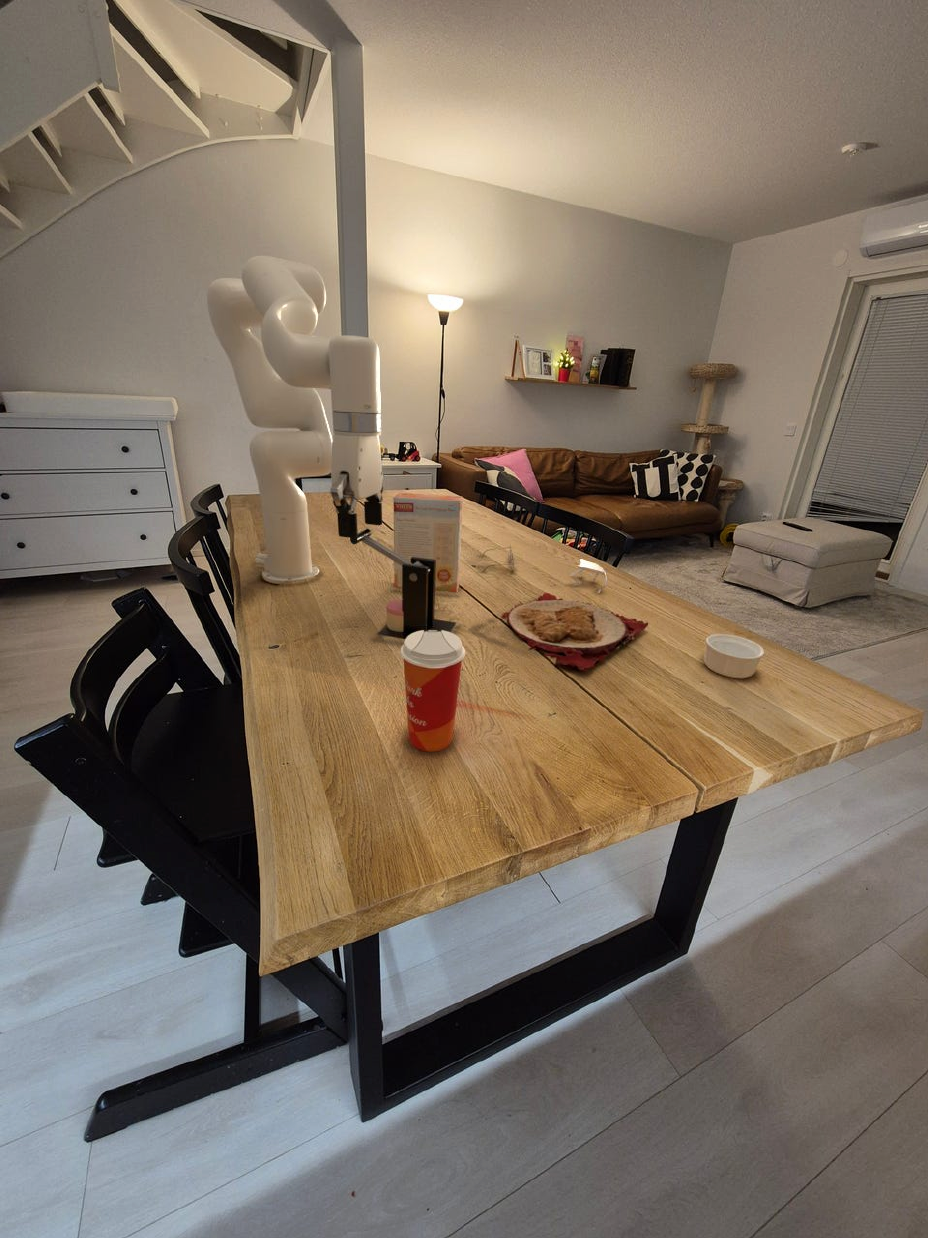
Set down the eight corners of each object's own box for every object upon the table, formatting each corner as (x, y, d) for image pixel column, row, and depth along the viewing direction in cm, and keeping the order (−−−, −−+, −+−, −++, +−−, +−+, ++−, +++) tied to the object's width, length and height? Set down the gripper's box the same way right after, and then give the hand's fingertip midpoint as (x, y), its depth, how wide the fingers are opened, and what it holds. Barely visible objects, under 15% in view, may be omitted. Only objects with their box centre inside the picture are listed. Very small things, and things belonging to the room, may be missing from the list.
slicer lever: (347, 543, 86) (352, 532, 85) (362, 536, 91) (366, 524, 89) (417, 586, 85) (423, 575, 84) (428, 576, 90) (434, 566, 89)
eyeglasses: (514, 574, 125) (514, 559, 124) (482, 575, 126) (482, 559, 124) (510, 557, 138) (510, 543, 136) (481, 558, 138) (481, 544, 137)
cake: (381, 629, 91) (381, 608, 89) (393, 617, 95) (393, 597, 94) (410, 634, 89) (411, 613, 88) (421, 621, 94) (421, 602, 93)
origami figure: (558, 581, 122) (560, 562, 120) (581, 575, 127) (584, 557, 125) (597, 597, 113) (600, 577, 111) (620, 591, 118) (624, 571, 116)
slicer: (376, 640, 89) (375, 566, 83) (398, 618, 98) (398, 550, 92) (441, 651, 86) (443, 575, 81) (457, 628, 95) (460, 558, 90)
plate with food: (647, 632, 98) (651, 615, 97) (583, 676, 80) (586, 657, 79) (545, 599, 112) (547, 584, 111) (471, 630, 94) (472, 613, 93)
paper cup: (401, 720, 68) (401, 627, 62) (458, 719, 69) (463, 627, 63) (399, 758, 61) (399, 657, 55) (462, 757, 62) (468, 658, 56)
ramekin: (734, 685, 81) (741, 662, 79) (689, 660, 88) (694, 638, 86) (768, 674, 85) (776, 651, 83) (722, 651, 92) (728, 630, 90)
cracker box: (459, 587, 115) (464, 495, 107) (456, 596, 110) (461, 500, 101) (399, 582, 116) (399, 490, 108) (393, 591, 111) (392, 495, 102)
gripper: (360, 421, 88) (363, 518, 95) (306, 425, 73) (315, 540, 80) (399, 424, 87) (400, 522, 94) (353, 428, 71) (358, 545, 78)
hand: (361, 530), depth 87 cm, fingers open, 9 cm apart
